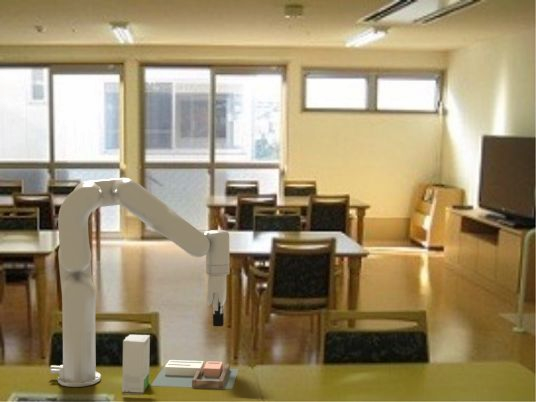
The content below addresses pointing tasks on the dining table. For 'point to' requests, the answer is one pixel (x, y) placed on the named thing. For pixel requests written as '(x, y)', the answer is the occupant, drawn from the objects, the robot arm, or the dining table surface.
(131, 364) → the skincare box
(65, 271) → the robot arm
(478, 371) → the dining table surface
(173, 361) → the flat white box
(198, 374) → the tray
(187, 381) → the mat
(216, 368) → the pink block
